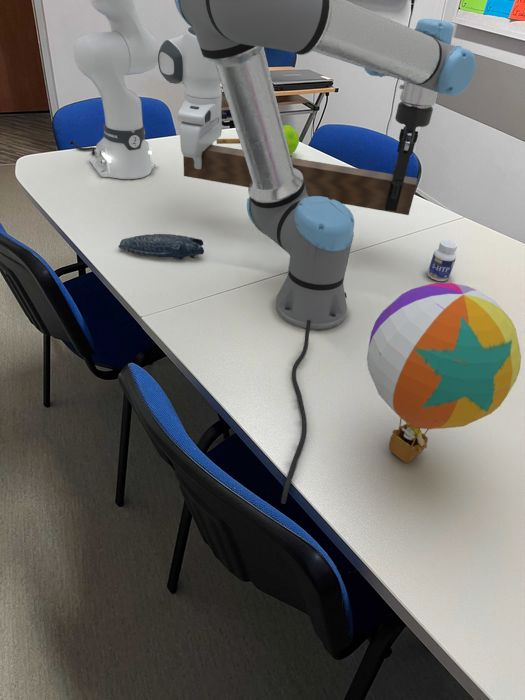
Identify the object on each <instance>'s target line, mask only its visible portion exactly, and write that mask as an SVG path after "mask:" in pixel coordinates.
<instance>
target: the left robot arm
mask: <svg viewBox="0 0 525 700" xmlns="http://www.w3.org/2000/svg"><path fill="white" fill-rule="evenodd" d="M90 4H91V5H92V8H93V9H95V10H96V11H97V12H98V13H100V14H101V15H103V16H104V17H105V18H106V20H107V21H108V23H109V26H110V31H101V32H100V31H99V32H90V33H88V34H85V35H81V37H80V36H79V37H78V38H77V39H76V40H75V42H74V45H73V59H74V61H75V64H76V66H77V68H78V70H79V71H80V72H81V74H83V75H84V76H85V77H87V78H88V79H89V80H90V81H91V82H92V83H93V84H94V86H95V87H96V89H97V90H98V93H99V95H100V98H101V102H102V108H103V114H104V122H105V123H103V137H102V138H101V139H100V141H98V142H97V144H96V145H95V146H91V147H81V146H79V145H78V144H77V143H76V141H75V140H71V141H70V143H69V144H70V145H74V147H75V148H76V149H78V150H80V151H91V154H92V155H94V156H93V157H91V158H90V159H89V161H90V164H91V165H92V166H93V168H94V169H95V170H96V172H97V173H98V174H99V176H100V177H102V178H114V179H120V180H136V179H137V180H138V179H142V178H145V177H148V176H149V175H150V174H152V171H153V169H155V168H156V166H155V163H153V162H152V159H151V158H152V157H151V155H152V151H150V144H149V142H148V141H147V140H146V139H145V138H146V129H145V125H144V123H143V108H142V100H141V98H140V97H139V96H138V94H137V93H136V92H134V91H133V90H131V89H129V88H128V87H127V84H126V81H125V76H131V75H140V74H145V73H146V72H149V71H151V70H153V69H155V68H156V67H157V65H158V70H159V72H160V74H161V76H162V77H163V78H164V79H165V80H166V81H167V82H168V83H170V84H175V85H183V86H184V94H183V95H184V98H183V102H182V104H181V106H180V108H179V110H178V112H177V120H178V122H180V126H179V140H180V142H179V143H180V151H181V154H182V157H183V156H185V157H190V158H193V160H194V167H195V168H196V169H201V168H202V167H203V161H202V158H201V156H202V152H203V151H204V150H205V149H207V148H208V147H209V146H210V145H214V143H215V141H216V142H217V139H220V138H221V136H222V132H223V120H222V119H223V118H222V105H223V104H222V101H223V91H222V86H221V81H220V78H219V75H218V72H217V68H216V65H215V64H214V63H213V62H211V61H209V60H207V59H205V58H204V57H203V55H202V52H201V49H200V46H199V43H198V40H197V37H196V34H195V31H194V28H193V27H191V26H189V27H188V28H187V29H186V30H185V32H184V33H183V34H182V35H180V36H177V37H172V38H169V39H165V40H164V41H163V42H162V44H161V45H160V47H159V46H158V42H157V40H156V39H155V37H154V36H153V34H151V33H150V32H149V31H148V30H147V29H146V28H145V27H144V25H143V23H142V22H141V20H140V18H139V16H138V15H139V14H138V13H137V10H136V7H135V3H134V0H90Z"/></svg>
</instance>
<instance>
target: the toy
mask: <svg viewBox="0 0 525 700" xmlns="http://www.w3.org/2000/svg"><path fill="white" fill-rule="evenodd" d="M367 347H368V348H367V354H366V355H367V356H366V362H367V370H368V372H369V375H370V377H371V379H372V380H371V381H372V382H373V385H374V387H375V389H376V391H377V394H378V395H379V397H381V399H382V401H384V402H385V403H386V405H387V406H388V407H389V408H390V409H391V410H392V411H393V412H394V413H395V414H396V415H397V416H398V417H399V418H400V419H399V425H398V428H397V429H393V430H392V434H391V436H390V440H389V444H388V449H389V451H390V453H392V454H394V455H395V456H396V457H397V458H399V460H401V461H402V462H404V463H405V464H409V463H410V462H412V461H413V460H414V459H415V458H417V457H418V456H419V455H420V454H421V453H423V451H424V449H427V447H428V440H429V438H428V437H427V436H426V434H427V433H428V431H429V430H437V429H453V428H461V427H466V426H467V425H469V424H472V423H475V422H477V421H478V420H481V419H483V418H485V417H487V416H489V415H492V413H494V412H495V411H496V410H497V409H498V408H500V407H501V405H502V404H503V402H504V401H505V399H506V398H507V396H508V395H509V394H510V391H512V388H513V387H514V385H515V383H516V382H517V379H518V376H519V373H520V371H521V362H522V354H521V349H520V343H519V338H518V333H517V329H516V327H515V324H514V323H513V321H512V319H511V317H510V316H509V315H508V314H507V312H506V311H505V310H504V309H503V307H502V306H500V304H499V303H498V302H497V301H496V300H495V299H493V298H491V297H490V296H489V295H487V294H485V293H484V292H483V291H481V290H478V289H475V288H473V287H470V286H467V285H464V284H458V283H453V282H434V283H429V284H424V285H421V286H418V287H414V288H411V289H409V290H407V291H405V292H403V293H402V294H401V295H399V296H398V297H397V298H396V299H394V301H393V302H392V303H390V304H389V305H388V306H387V307H386V308H385V309H383V310H382V311H381V313H380V314H379V315H378V317H377V319H376V320H375V321H374V324H373V327H372V330H371V332H370V338H369V342H368V346H367ZM402 420H403V421H404V422H405V423H404V424H403V425H402ZM421 429H422V430H426V431H425V432H424V433H423V432H422V430H421Z"/></svg>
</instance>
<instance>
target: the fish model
mask: <svg viewBox="0 0 525 700" xmlns="http://www.w3.org/2000/svg"><path fill="white" fill-rule="evenodd" d="M203 246H204V241H203V240H202V239H200V238H196V237H192V236H186V235H180V234H178V235H177V234H172V233H153V234H150V233H149V234H148V233H147V234H140V235H135V236H130V237H126V238H122V239H121V241H119V244H118V249H121V250H123V251H126V252H128V253H132V254H135V255H140V256H143V257H144V256H145V257H150V258H163V259H165V258H170V259H175V260H183V259H185V258H188V257H190V258H191V259H195V258H196V257H198V256H199V255H203V254H204V252H205V250H204V247H203Z"/></svg>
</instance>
